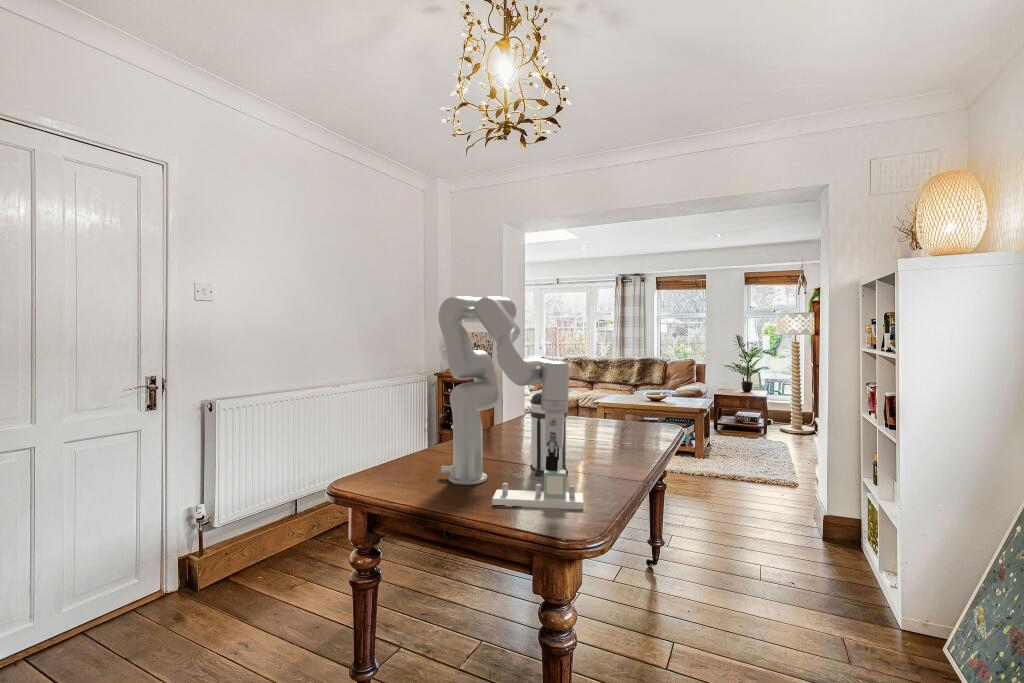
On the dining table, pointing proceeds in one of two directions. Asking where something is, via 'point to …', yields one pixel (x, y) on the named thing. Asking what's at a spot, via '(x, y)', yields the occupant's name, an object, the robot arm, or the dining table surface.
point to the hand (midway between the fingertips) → (552, 465)
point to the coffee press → (542, 438)
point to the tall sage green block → (555, 484)
